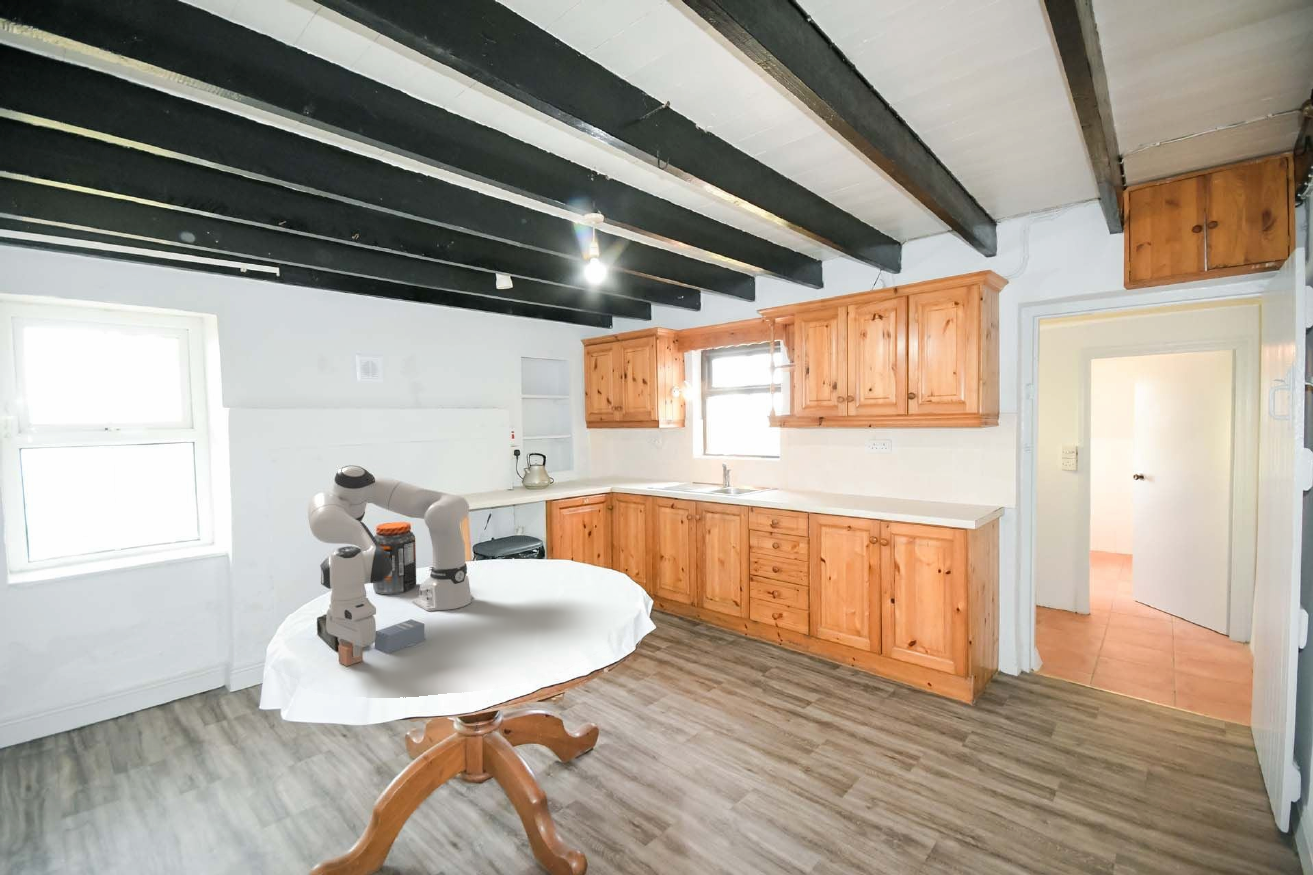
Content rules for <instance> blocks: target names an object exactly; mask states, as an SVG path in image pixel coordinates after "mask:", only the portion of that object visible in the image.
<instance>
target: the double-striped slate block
mask: <svg viewBox="0 0 1313 875" xmlns="http://www.w3.org/2000/svg"><path fill="white" fill-rule="evenodd" d="M425 633H426V631H425V623H423V622H421V621H417V620H414V619H409V620H405V621H402V622H399V623H396V624H393V625H390V626H387V627H385V628H381V629H378V630H376V638H375V641H374V643H373V644H374V649H375V650H378V651H380V652H382V653H385V654H390V653H394V652H396V651H398V650H401V649H404V648H407V647H410V646H412V645H414V644H418V643H420V642H423V641H425V640H426V634H425Z"/></svg>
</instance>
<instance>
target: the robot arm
mask: <svg viewBox="0 0 1313 875" xmlns="http://www.w3.org/2000/svg"><path fill="white" fill-rule="evenodd" d="M333 481H334V483H333V486H332V491H331V492H329V491H328V492H326V491H324V492H320V493H318V494H316V495H314V496H313V497H312V498H311V499H310V501H309V503H308V509H307V514H308V515H307V519H308V524H309V528H310V531H311V533H312V535H313V536H314V537H315V538H316V539H317V540H318V541H320V542H323V543H325V544H333V545H334V544H337V545H338V544H342V545H343V544H344V545H349V546H343V547H338V548H336V549H334V550H333V551H332V552H331V556H328V557H327V558H324V560H323V561H322V562H321V564H320V565H319V566H320V585H322V586H324V587H325V588H327V589H328V590H331V594H330V603H329V608H328V609H327V612H326V614H327V617H326V630H327V632H328V633H329V634H331V635H334V636H336V637H338V642H339V644H340V645H341V644H344V643H347V641H348V642H351V643H353V646H354V649H353V651H351V654H352V657H354V658H358V657H360V655H361V651H360V650H361V648H362V649H363V648H365V647H368V646H371V645H373V644H375V643H374V641H375V638H376V631H377V629H376V624H377V623H376V618H375V615H376V614H377V608H376V606H374V604H373V603H372V602H371V601H370V600H369V598H368V597H367V590H366V588H365V585H367V584H373V583H381V582H383V581H384V580H385V579H386V578H387V577H388V576H389V574H390V573H391V569H392V564H391V559H390V556H389V554H388V553H387V552H386V551H385V550H384V549H383V548H382V547H381V546H380V545H379V543H378V542H377V540H376V539H375V538H374V536H375V535H373V533H372V532H371V530H370V529H369V528H368V526H367V525H366V524H365V522H363V519H364V517H365V513H366V507H367V505H368V504H372V505H373V504H374V505H375V506H377V507H379V508H382V509H384V510H386V511H389V512H392V513H396V514H399V515H402V516H405V517H409V518H413V519H414V518H416V519H422V520H424V523H425V525H426V527H427V528H428V531H429V537H430V541H431V546H432V566H430V567H429V571H430V575H429V577H428V578H427V579H426V580H425V581H423V583H422V584H420V586H419V590H418V596H416V597H414V598H413V599H412V600H411V602H412V603H413V604H414V605H416V606H418V607H420V608H421V609H423V610H425V611H427V612H434V611H444V610H445V611H447V610H453V609H458V608H463V607H465V606H467V605H469V604H470V603H471V602H472V599H473V597H474V595H473V593H471V587H470V580H469V579H470V578H469V576H468V575H467V574H468V567H467V563H466V543H465V540H464V538H463V536H462V530H461V523H462V522H464V521H465V520H466V519H467V517H468V514H469V511H470V504H469V502H468V501H467V500H466V498H464V497H463V496H461V495H454V494H450V493H446V492H442V491H438V490H432V489H427V488H423V487H419V486H417V485H413V484H410V483H407V482H404V481H401V480H397V479H394V478H389V477H382V476H374V475H373V474H372V473H370V472H369V471H368V470H367V469H366V468H363V467H362V466H359V465H346V466H343V467H340V468H339V469H338V470H337V472H336V474H335V476H334V480H333ZM351 545H352V546H351ZM353 545H354V546H353ZM356 546H357V547H356Z"/></svg>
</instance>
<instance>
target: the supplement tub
mask: <svg viewBox="0 0 1313 875" xmlns="http://www.w3.org/2000/svg"><path fill="white" fill-rule="evenodd" d="M375 528H376V529H375V532H376V534H375V535H373V536H374V538H375V539H376V540H377V542H378V543H379V545H380V546H381V547H382V548H383V549H384V550H385V551H386V552H387V553H388V554H389V556H390V559H391V564H392V569H391V573H390V574H389V576H388V577H387V578H386V579H385V580H384V581H383V582H381V583H372V589H373V591H374V592H375V593H377V594H382V595H383V594H384V595H396V594H402V593H404V592H408V591H411V590H412V589H414V588H415V587H416V585H417V564H416V563H417V555H416V553H417V550H416V536H415V534H414V532H412V530H411V529H412V527H411V523H410V522H406V521H405V522H404V521H397V522H387V523H382V524H378V525H377V526H376V527H375Z"/></svg>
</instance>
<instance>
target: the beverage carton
mask: <svg viewBox="0 0 1313 875" xmlns="http://www.w3.org/2000/svg"><path fill="white" fill-rule="evenodd" d="M326 617H327V613H326V614H322V615H321V616H317V618H316V632H317V633H316V634H317V636H318V637H319V638H320V639H322V640H323V641H324V642H325V643H326V644H327V645H328V646H330V647H331V648H332V649H333V650H334V651H335V652H338V645H340V644H339V642H338V637H336V636H334V635H331V634H329V633H328V632H327V630H326ZM347 642H348V641H347Z"/></svg>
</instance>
